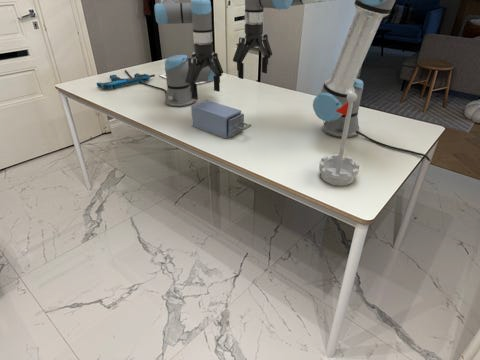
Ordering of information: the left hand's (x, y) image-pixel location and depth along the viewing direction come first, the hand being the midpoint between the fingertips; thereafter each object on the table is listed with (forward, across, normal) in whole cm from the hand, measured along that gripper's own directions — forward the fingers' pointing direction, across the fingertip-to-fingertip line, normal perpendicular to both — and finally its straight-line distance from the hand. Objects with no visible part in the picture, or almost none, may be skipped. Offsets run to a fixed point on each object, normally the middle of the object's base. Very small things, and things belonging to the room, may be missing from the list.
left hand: (206, 94), depth 147 cm
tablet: (+14, -44, -62) cm, 77 cm away
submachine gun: (+14, -15, -85) cm, 88 cm away
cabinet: (+14, 0, +5) cm, 15 cm away
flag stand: (+15, +3, +65) cm, 67 cm away
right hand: (-6, -19, +11) cm, 22 cm away
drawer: (+13, 0, +11) cm, 17 cm away
